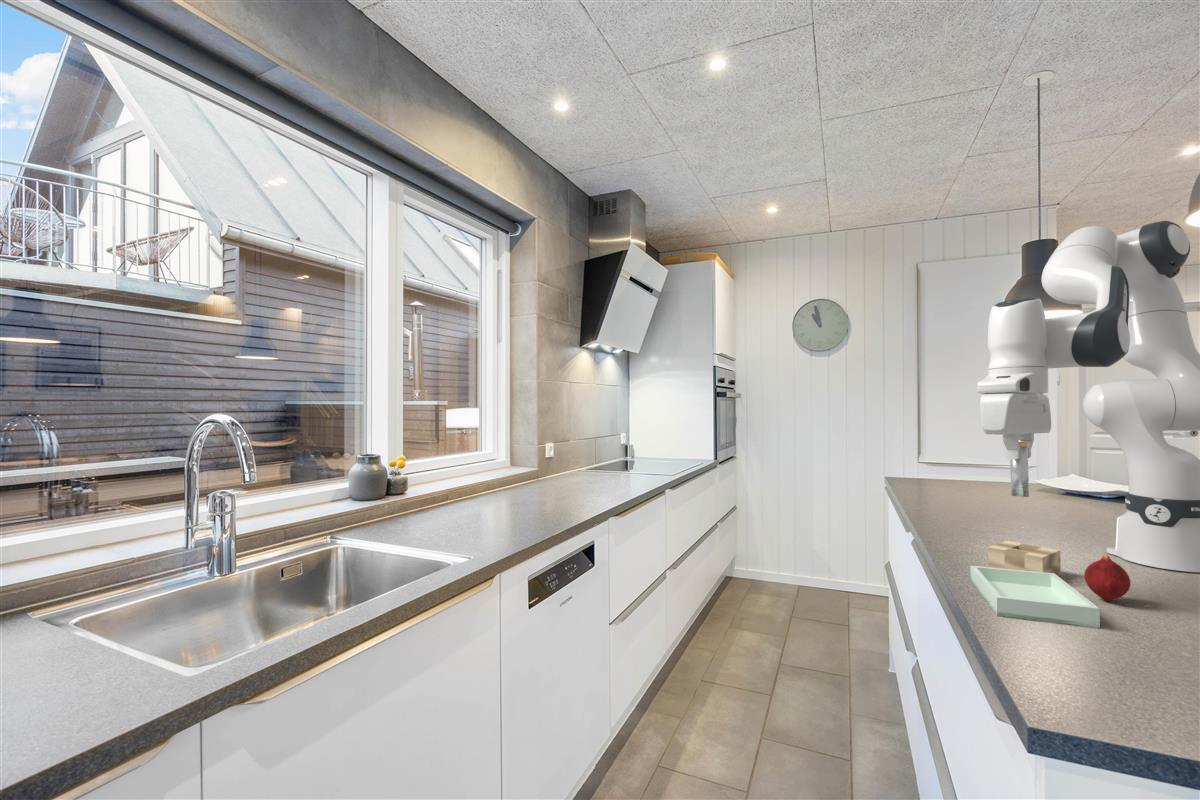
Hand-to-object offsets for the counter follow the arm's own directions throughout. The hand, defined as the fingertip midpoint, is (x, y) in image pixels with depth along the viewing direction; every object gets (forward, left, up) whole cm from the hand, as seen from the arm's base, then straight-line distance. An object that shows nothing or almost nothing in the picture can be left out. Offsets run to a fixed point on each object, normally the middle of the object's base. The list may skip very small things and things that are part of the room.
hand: (1019, 458), depth 100 cm
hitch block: (-11, -3, -24) cm, 27 cm away
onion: (-5, +11, -24) cm, 27 cm away
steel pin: (0, 0, -7) cm, 7 cm away
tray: (+7, +3, -24) cm, 25 cm away
